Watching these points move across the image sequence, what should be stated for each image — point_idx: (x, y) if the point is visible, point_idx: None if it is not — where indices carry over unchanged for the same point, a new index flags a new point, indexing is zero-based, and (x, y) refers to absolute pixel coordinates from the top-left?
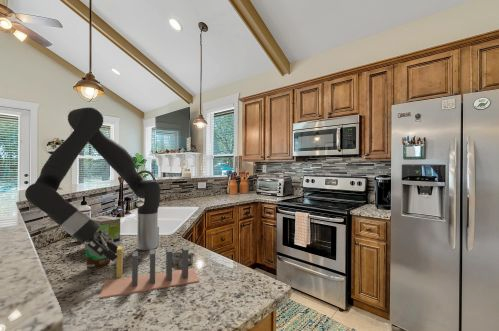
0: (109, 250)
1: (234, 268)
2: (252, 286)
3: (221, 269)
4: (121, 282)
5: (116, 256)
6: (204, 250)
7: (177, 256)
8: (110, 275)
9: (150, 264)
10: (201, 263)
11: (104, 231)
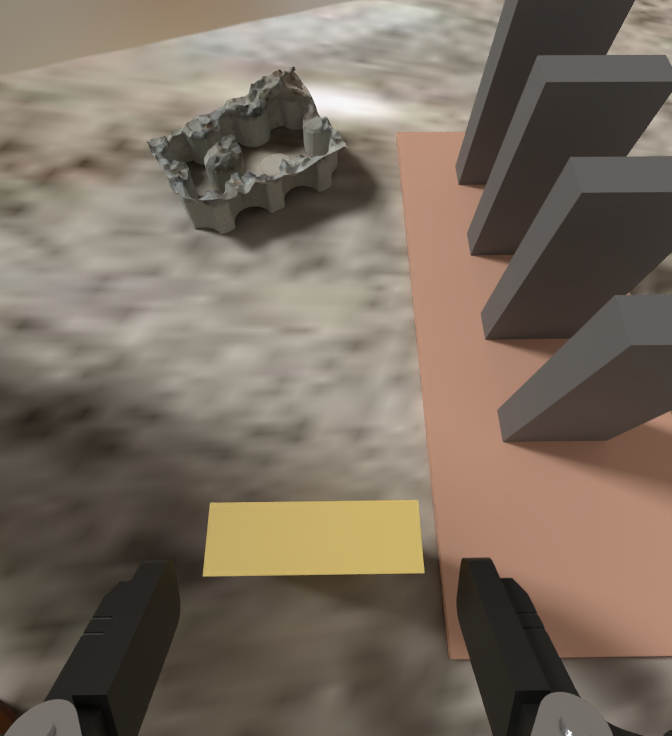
0: (548, 689)
1: (450, 9)
2: (647, 4)
3: (445, 46)
4: (517, 517)
5: (492, 566)
6: (120, 56)
7: (238, 160)
8: (314, 631)
9: (663, 257)
10: (329, 97)
11: None
